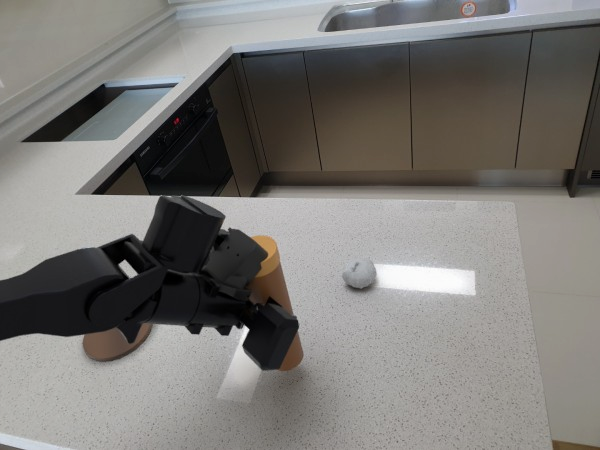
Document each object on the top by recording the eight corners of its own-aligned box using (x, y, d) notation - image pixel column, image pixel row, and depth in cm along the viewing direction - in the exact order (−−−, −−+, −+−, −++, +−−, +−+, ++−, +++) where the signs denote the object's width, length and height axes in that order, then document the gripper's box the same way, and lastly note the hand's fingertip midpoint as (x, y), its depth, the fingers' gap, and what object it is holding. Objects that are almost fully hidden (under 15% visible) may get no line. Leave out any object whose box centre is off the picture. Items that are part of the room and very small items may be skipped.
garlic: (354, 299, 78) (351, 277, 74) (338, 280, 82) (334, 258, 79) (384, 284, 79) (382, 262, 76) (367, 266, 83) (364, 245, 80)
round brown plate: (99, 374, 74) (97, 371, 74) (75, 335, 82) (72, 332, 82) (164, 329, 80) (162, 326, 79) (135, 296, 87) (133, 293, 87)
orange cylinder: (285, 378, 62) (252, 271, 50) (260, 359, 65) (223, 253, 53) (311, 353, 65) (286, 245, 53) (286, 335, 68) (256, 230, 56)
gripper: (265, 269, 42) (360, 288, 53) (173, 200, 54) (265, 227, 66) (217, 375, 43) (319, 371, 55) (137, 283, 56) (234, 296, 67)
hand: (282, 309), depth 60 cm, fingers closed on orange cylinder, 5 cm apart
